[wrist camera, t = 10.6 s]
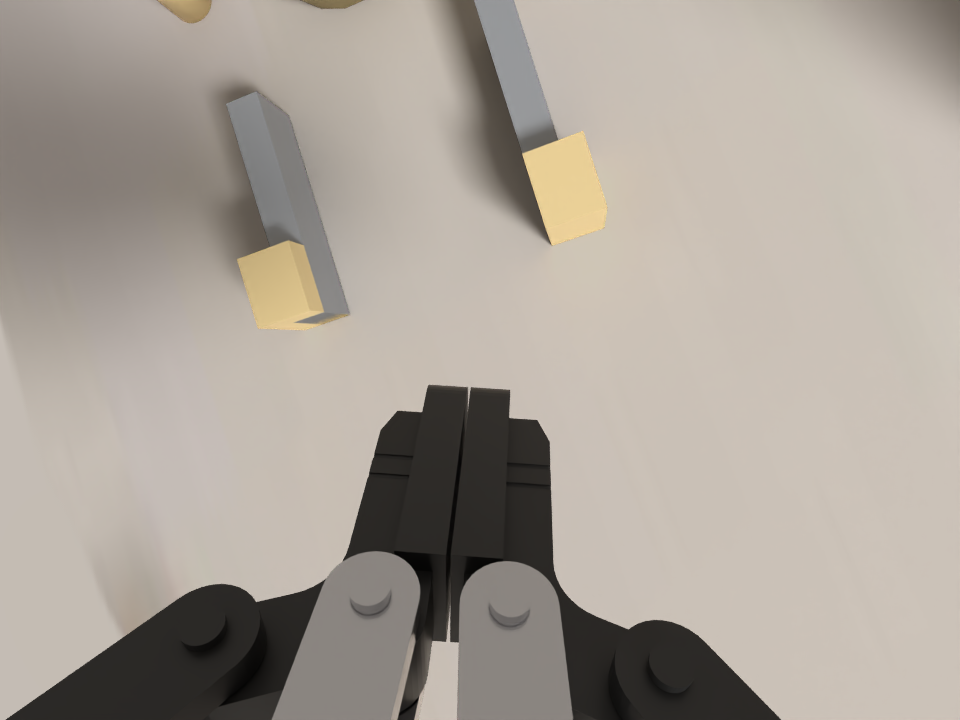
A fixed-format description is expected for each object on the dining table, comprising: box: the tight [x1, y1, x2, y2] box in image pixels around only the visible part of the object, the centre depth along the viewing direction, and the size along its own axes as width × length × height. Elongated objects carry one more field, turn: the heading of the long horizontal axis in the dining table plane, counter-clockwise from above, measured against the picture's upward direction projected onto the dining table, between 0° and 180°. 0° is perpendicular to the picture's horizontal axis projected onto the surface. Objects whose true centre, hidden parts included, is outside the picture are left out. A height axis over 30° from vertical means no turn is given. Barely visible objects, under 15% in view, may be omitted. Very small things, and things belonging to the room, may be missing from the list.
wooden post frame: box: [157, 0, 607, 330], centre depth 26 cm, size 18×18×6 cm
